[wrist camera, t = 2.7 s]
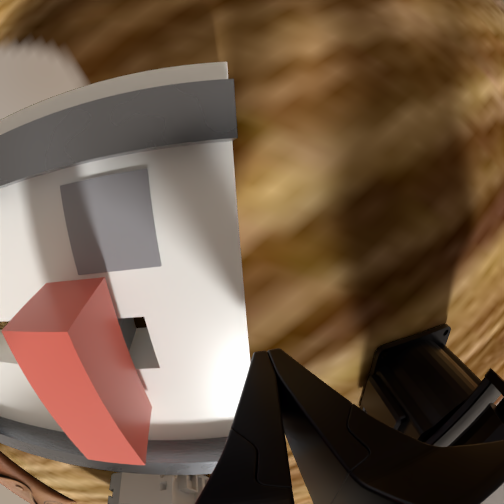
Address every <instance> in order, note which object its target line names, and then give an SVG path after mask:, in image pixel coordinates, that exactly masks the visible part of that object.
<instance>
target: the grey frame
mask: <svg viewBox="0 0 504 504" xmlns="http://www.w3.org/2000/svg"><path fill="white" fill-rule="evenodd" d="M237 138H238V136H237V121H236V106H235V91H234V79H220V80H207V81H196V82H187V83H179V84H172V85H165V86H158V87H152V88H147V89H141V90H136V91H131V92H127V93H122V94H118V95H113V96H109V97H105V98H101V99H97V100H94V101H90V102H87V103H83V104H80V105H76V106H73V107H70V108H67V109H64V110H61V111H58V112H55V113H52V114H50V115H47V116H44V117H41V118H39V119H36V120H34V121H31V122H29V123H26V124H24V125H22V126H19V127H17V128H15V129H12V130H10V131H8V132H6V133H4V134H2V135H0V188H3V187H6V186H9V185H12V184H15V183H18V182H21V181H24V180H27V179H30V178H33V177H37V176H40V175H43V174H47V173H50V172H54V171H57V170H61V169H65V168H69V167H73V166H77V165H81V164H85V163H89V162H93V161H98V160H103V159H107V158H112V157H117V156H122V155H128V154H133V153H139V152H145V151H151V150H158V149H164V148H171V147H179V146H187V145H196V144H205V143H216V142H227V141H233V140H235V139H237ZM227 438H228V437H219V438H207V439H190V440H148V445H147V455H146V465H131V464H119V463H110V462H102V461H95V460H89V459H87V458H86V457H85V456H84V455H83V453H82V452H81V451H80V450H79V449H78V448H77V447H76V446H75V444H74V443H73V442H72V441H71V440H70V439H69V437H68V436H67V435H66V434H65V432H61V431H56V430H51V429H46V428H41V427H37V426H33V425H29V424H25V423H21V422H17V421H14V420H10V419H7V418H4V417H1V416H0V443H2V444H4V445H7V446H10V447H12V448H15V449H18V450H21V451H24V452H27V453H30V454H34V455H37V456H40V457H44V458H47V459H51V460H55V461H59V462H63V463H68V464H73V465H77V466H83V467H88V468H94V469H100V470H107V471H115V472H124V473H136V474H152V475H200V474H212V472H213V470H214V468H215V466H216V464H217V462H218V460H219V458H220V456H221V454H222V451H223V449H224V446H225V443H226V440H227Z"/></svg>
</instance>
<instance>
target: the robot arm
mask: <svg viewBox="0 0 504 504" xmlns="http://www.w3.org/2000/svg"><path fill="white" fill-rule="evenodd" d="M450 330H451V328H450V327H449V326H448V325H447V324H443V325H441V326H438V327H435V328H433V329H430V330H427V331H424V332H421V333H419V334H416V335H413V336H410V337H407V338H404V339H401V340H398V341H394V342H391V343H388V344H385V345H382V346H380V347H379V348H378V349H377V350H376V352H375V355H374V359H373V363H372V367H371V371H370V374H369V378H368V381H367V385H366V388H365V392H364V395H363V398H362V402H361V405H360V408H359V407H357V406H356V405H354V404H352V403H351V402H350V401H349V400H347V399H346V398H345V397H343V396H342V395H340V394H339V393H338V392H336V391H335V390H334V389H332V388H331V387H330V386H328V385H327V384H326V383H324V382H323V381H322V380H320V379H319V378H318V377H316V376H315V375H314V374H312V373H311V372H310V371H308V370H307V369H306V368H305V367H303V366H302V365H301V364H299V363H298V362H297V361H296V360H294V359H293V358H292V357H290V356H289V355H288V354H287V353H285V352H284V351H283V350H282V349H280V348H277V349H271V350H268V351H258V352H254V353H253V356H252V360H251V363H250V366H249V370H248V373H247V376H246V380H245V383H244V386H243V390H242V393H241V396H240V400H239V403H238V406H237V409H236V413H235V416H234V419H233V422H232V425H231V430H230V431H229V434H228V438H227V440H226V443H225V446H224V449H223V451H222V454H221V456H220V458H219V460H218V462H217V464H216V466H215V468H214V470H213V472H212V474H211V476H210V478H209V479H208V481H207V483H206V485H205V487H204V488H203V490H202V492H201V494H200V495H199V497H198V499H197V501H196V502H195V504H294V498H293V492H292V484H291V476H290V469H289V462H288V454H287V447H286V440H285V435H286V438H287V440H288V443H289V445H290V448H291V450H292V453H293V455H294V458H295V460H296V462H297V465H298V467H299V470H300V472H301V475H302V477H303V479H304V482H305V484H306V487H307V489H308V491H309V494H310V496H311V498H312V501H313V503H314V504H504V397H503V399H502V400H501V401H500V402H499V404H498V405H497V406H496V405H495V404H493V403H494V402H495V401H496V400H497V398H498V397H499V396H500V395H501V394H502V395H503V396H504V380H503V379H502V378H501V377H500V376H499V375H497V374H496V373H495V372H494V371H493V370H492V369H491V368H490V369H489V370H488V372H487V373H486V374H485V378H484V379H483V380H482V381H481V380H480V379H479V378H478V377H477V376H476V375H475V374H474V373H473V372H472V371H471V370H470V369H469V368H468V367H467V366H466V365H465V364H464V363H463V362H462V361H461V360H460V359H459V358H458V357H457V356H456V355H454V354H453V353H452V352H451V351H450V350H449V349H448V348H447V347H446V346H445V345H446V342H447V339H448V336H449V333H450Z"/></svg>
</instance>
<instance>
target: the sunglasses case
mask: <svg viewBox="0 0 504 504" xmlns="http://www.w3.org/2000/svg"><path fill="white" fill-rule="evenodd" d="M0 483H1V484H2V485H4V486H5V487H6V488H8V489H9V490H11V491H12V492H13V493H15V494H17V495H18V496H20V497H21V498H23V499H24V500H26V501H28V502H29V503H31V504H72V503H77V502H75V501H74V500H72V499H70V498H68V497H66V496H64V495H62V494H60V493H58V492H57V491H55V490H53V489H52V488H50V487H48V486H47V485H45V484H44V483H42V482H40V481H39V480H37V479H36V478H34V477H33V476H32V475H30V474H29V473H27V472H26V471H24V470H23V469H22V468H20V467H19V466H18V465H16V464H15V463H14V462H13V461H11V460H10V459H9V458H8V457H6V456H5V455H4V454H3V453H1V452H0Z"/></svg>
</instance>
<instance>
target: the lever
mask: <svg viewBox="0 0 504 504" xmlns="http://www.w3.org/2000/svg"><path fill="white" fill-rule="evenodd" d="M135 332H136V326H135V323H134V320H133V318H118V319H117V316H116V313H115V310H114V307H113V303H112V300H111V297H110V293H109V290H108V286H107V282H106V279H105V277H101V278H91V279H81V280H71V281H61V282H50V283H46V284H45V285H44V286H43V287H42V288H41V289H40V290H39V291H38V292H37V293H36V294H35V295H34V296H33V297H32V298H31V299H30V300H29V301H28V302H27V303H26V304H25V305H24V306H23V307H22V308H21V309H20V310H19V312H18V313H17V314H16V315H15V316H14V317H13V318H12V319H11V320H10V321H9V323H8V324H7V325H6V326H5V327H4V328H3V329H2V333H3V335H4V338H5V340H6V342H7V344H8V346H9V348H10V350H11V352H12V353H13V355H14V357H15V359H16V361H17V363H18V364H19V366H20V368H21V370H22V371H23V373H24V375H25V377H26V378H27V380H28V381H29V383H30V385H31V386H32V388H33V389H34V391H35V393H36V394H37V396H38V397H39V399H40V400H41V402H42V403H43V404H44V406H45V407H46V409H47V410H48V411H49V413H50V414H51V416H52V417H53V418H54V420H55V421H56V422H57V424H58V425H59V426H60V427H61V429H62V430H63V431H64V432H65V434H66V435H67V436H68V437H69V439H70V440H71V441H72V442H73V443H74V444H75V446H76V447H77V448H78V449H79V450H80V451H81V452H82V453H83V455H84V456H85V457H86V458H87V459H89V460H95V461H102V462H110V463H119V464H131V465H146V455H147V445H148V436H149V427H150V419H151V411H152V406H151V403H150V401H149V399H148V397H147V395H146V392H145V390H144V388H143V386H142V383H141V381H140V379H139V376H138V374H137V371H136V369H135V366H134V364H133V361H132V359H131V356H130V353H129V350H130V347H131V344H132V341H133V338H134V335H135Z"/></svg>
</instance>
